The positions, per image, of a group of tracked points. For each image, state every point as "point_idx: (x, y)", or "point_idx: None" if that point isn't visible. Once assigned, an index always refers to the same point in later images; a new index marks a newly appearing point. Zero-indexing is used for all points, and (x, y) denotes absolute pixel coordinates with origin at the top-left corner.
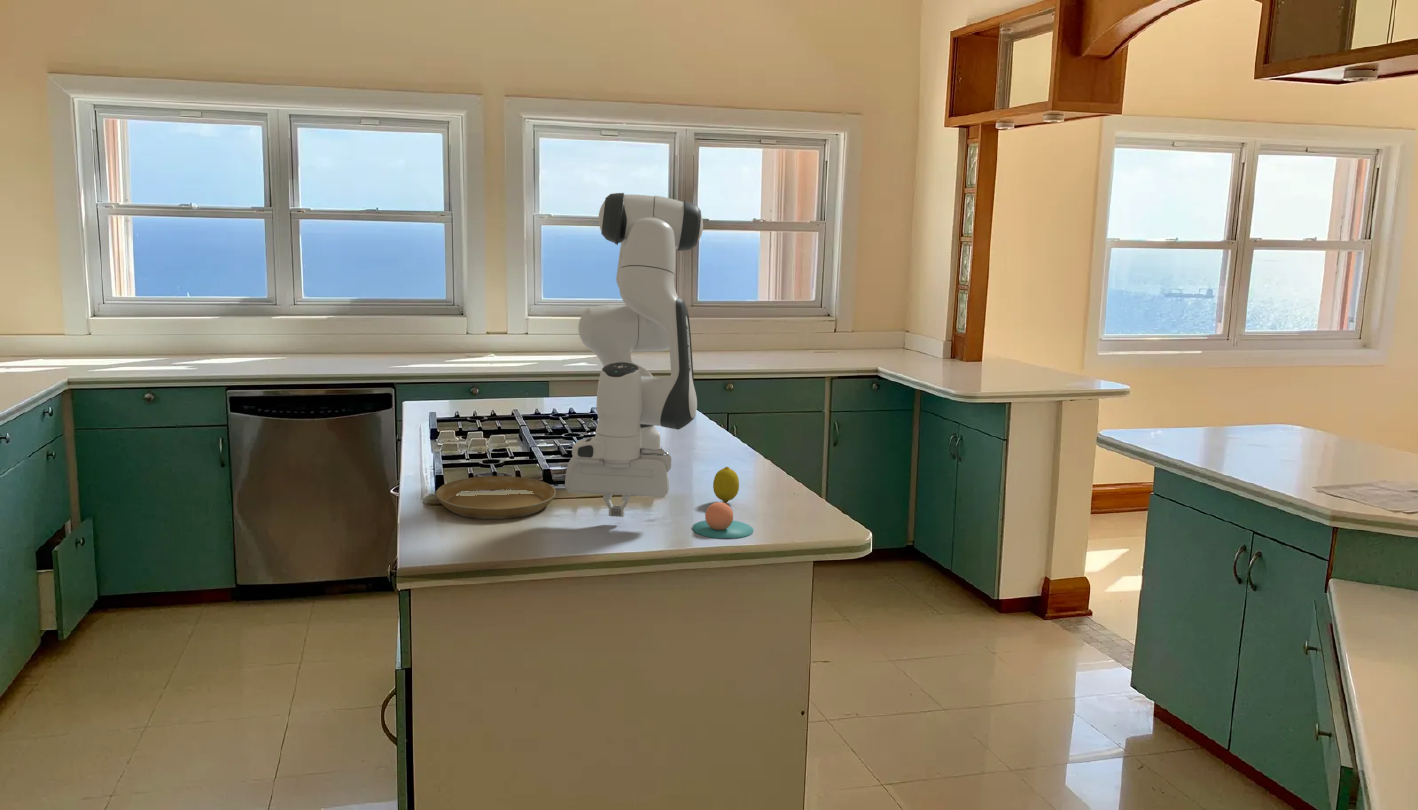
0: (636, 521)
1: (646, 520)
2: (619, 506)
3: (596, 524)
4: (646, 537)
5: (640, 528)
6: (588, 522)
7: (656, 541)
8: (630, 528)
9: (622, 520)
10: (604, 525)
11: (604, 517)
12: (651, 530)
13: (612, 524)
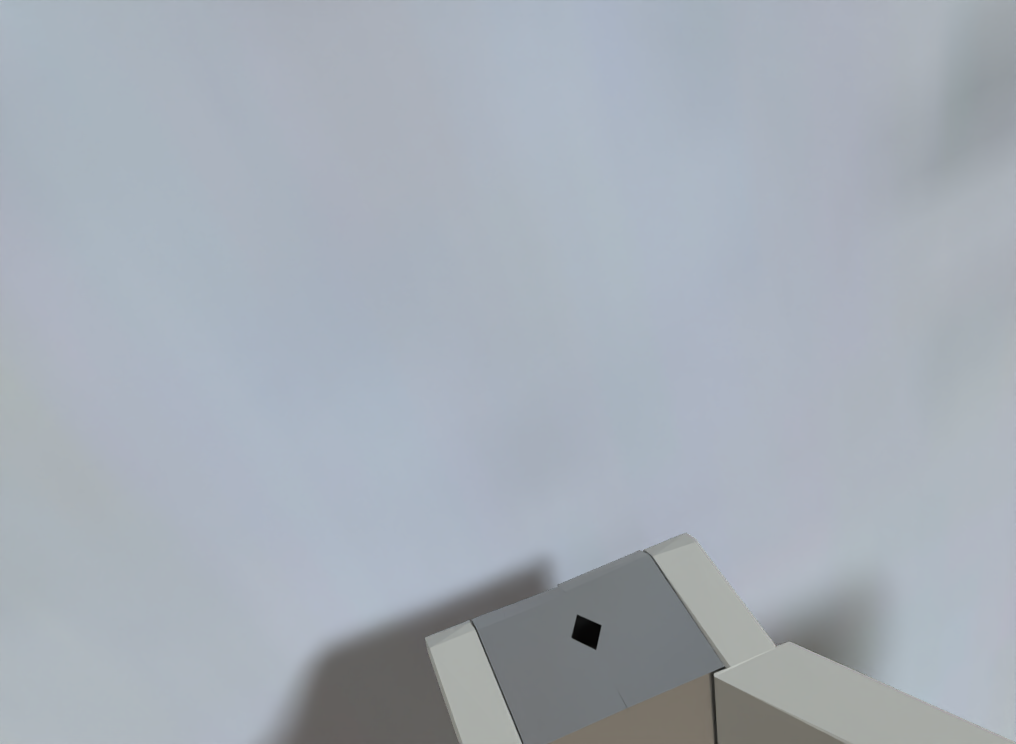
0: (781, 254)
1: (933, 120)
2: (678, 705)
3: (235, 687)
4: (917, 668)
5: (855, 493)
6: (49, 694)
7: (995, 689)
8: (738, 557)
9: (549, 321)
10: (372, 653)
11: (138, 330)
12: (975, 483)
13: (464, 563)
